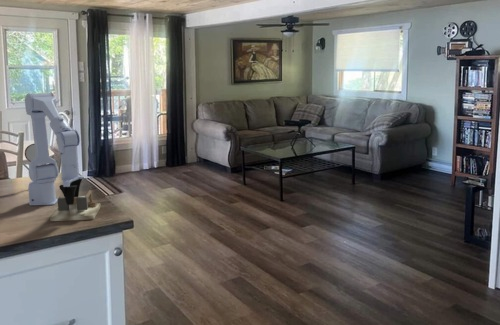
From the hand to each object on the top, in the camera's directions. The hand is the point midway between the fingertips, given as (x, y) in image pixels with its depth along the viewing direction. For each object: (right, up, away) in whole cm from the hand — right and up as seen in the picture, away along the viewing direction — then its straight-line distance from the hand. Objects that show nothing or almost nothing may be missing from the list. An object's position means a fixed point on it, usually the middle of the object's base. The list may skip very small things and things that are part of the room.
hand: (72, 201), depth 172 cm
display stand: (-1, -5, +6) cm, 8 cm away
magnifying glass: (-31, +3, +42) cm, 53 cm away
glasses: (-1, -2, +5) cm, 6 cm away
